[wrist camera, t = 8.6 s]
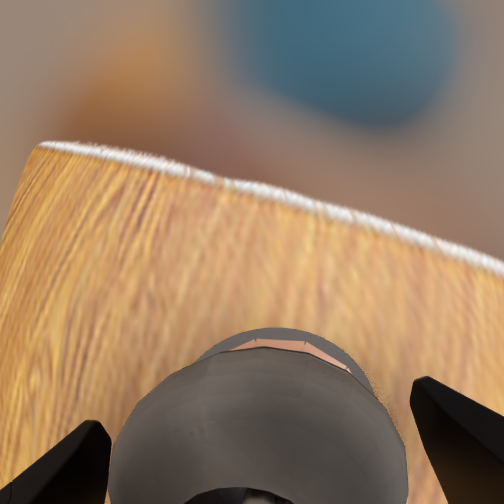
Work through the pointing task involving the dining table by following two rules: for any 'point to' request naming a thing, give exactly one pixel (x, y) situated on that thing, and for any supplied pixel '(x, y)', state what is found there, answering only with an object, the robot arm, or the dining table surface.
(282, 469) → the beverage cup
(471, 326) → the dining table surface
